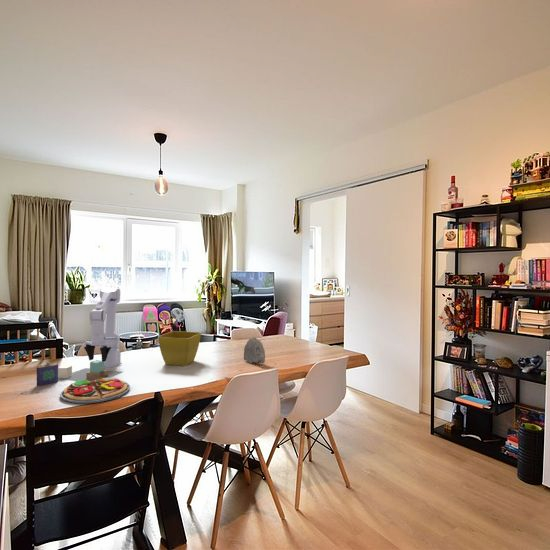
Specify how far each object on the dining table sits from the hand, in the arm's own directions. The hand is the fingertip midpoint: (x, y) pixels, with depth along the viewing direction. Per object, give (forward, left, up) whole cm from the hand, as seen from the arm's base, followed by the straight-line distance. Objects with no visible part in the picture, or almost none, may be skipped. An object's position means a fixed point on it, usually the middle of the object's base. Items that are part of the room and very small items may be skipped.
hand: (97, 360), depth 182 cm
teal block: (0, 0, -6) cm, 6 cm away
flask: (+15, -15, -9) cm, 23 cm away
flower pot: (-39, +24, -9) cm, 47 cm away
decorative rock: (-52, +66, -9) cm, 84 cm away
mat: (-2, -6, -9) cm, 11 cm away
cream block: (+4, -16, -9) cm, 19 cm away
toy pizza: (+18, +15, -9) cm, 25 cm away
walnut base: (0, 0, -9) cm, 9 cm away
